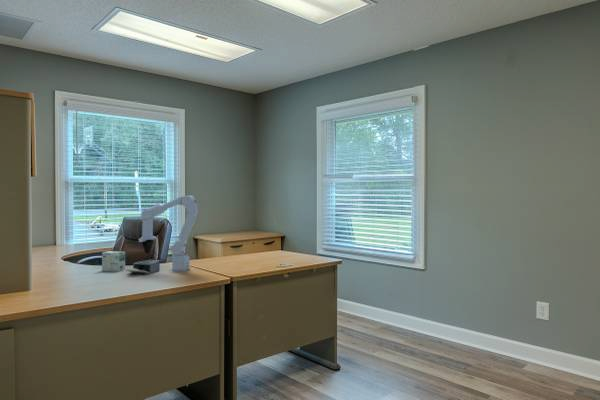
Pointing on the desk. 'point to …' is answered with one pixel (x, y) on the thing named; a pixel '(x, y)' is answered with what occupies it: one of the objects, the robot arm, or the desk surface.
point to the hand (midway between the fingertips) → (147, 252)
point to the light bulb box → (113, 261)
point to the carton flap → (137, 271)
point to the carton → (147, 266)
